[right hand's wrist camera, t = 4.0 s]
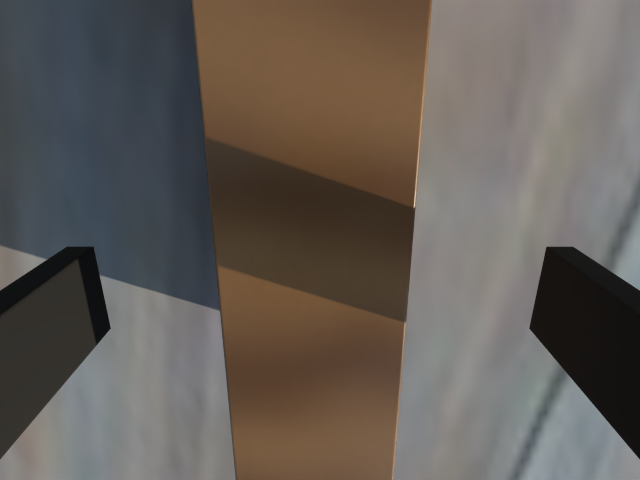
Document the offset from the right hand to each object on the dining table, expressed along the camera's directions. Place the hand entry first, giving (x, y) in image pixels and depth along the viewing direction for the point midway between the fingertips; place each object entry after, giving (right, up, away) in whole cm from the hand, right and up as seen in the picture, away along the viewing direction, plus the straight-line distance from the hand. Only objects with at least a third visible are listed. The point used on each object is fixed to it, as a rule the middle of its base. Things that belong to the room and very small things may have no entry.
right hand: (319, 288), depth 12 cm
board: (0, +21, -1) cm, 21 cm away
